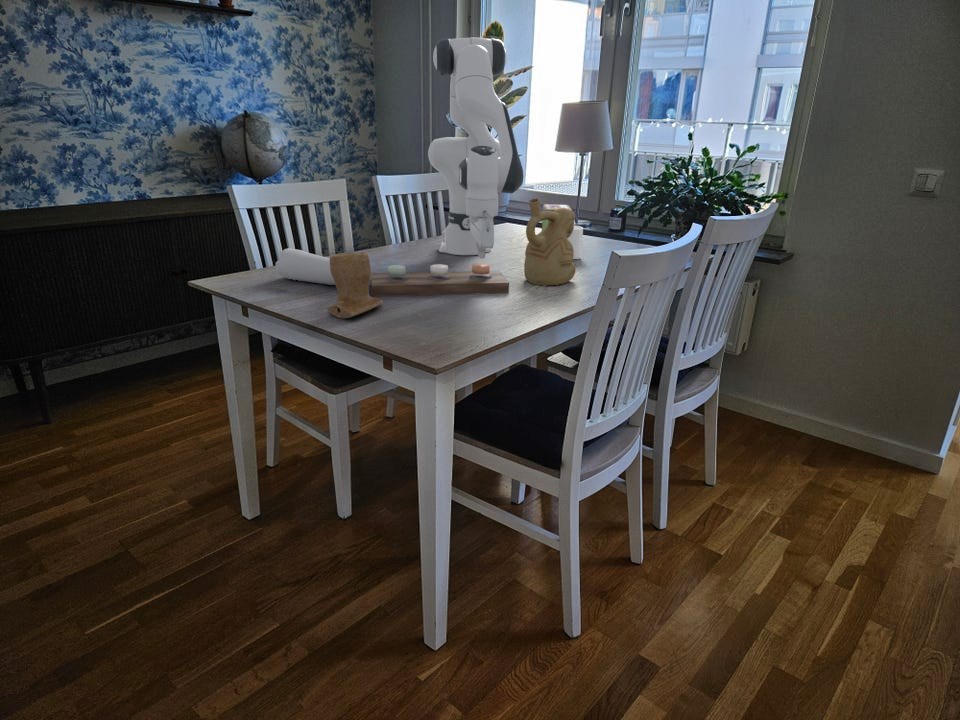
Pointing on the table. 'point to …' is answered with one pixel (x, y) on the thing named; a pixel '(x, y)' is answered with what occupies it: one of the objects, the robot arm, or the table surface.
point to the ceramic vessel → (549, 246)
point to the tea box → (552, 208)
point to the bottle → (305, 267)
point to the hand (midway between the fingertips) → (481, 257)
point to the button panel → (438, 283)
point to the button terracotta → (480, 269)
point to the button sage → (396, 270)
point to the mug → (576, 241)
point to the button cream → (439, 269)
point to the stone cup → (351, 284)
